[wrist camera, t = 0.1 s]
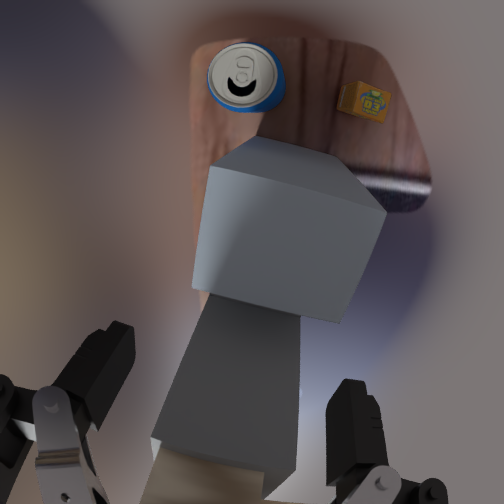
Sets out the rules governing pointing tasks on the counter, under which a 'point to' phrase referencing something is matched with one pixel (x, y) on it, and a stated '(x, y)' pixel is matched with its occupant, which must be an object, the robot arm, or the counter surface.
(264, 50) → the beverage can
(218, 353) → the tall tower
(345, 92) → the supplement box
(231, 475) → the mallet
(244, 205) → the grey tall block
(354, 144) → the counter surface
